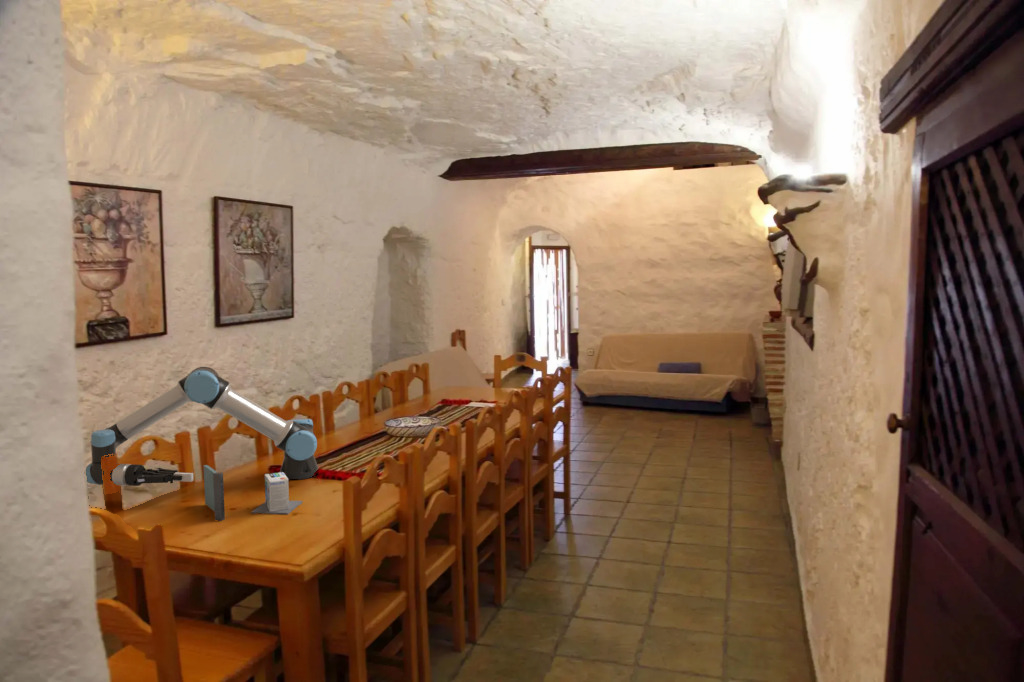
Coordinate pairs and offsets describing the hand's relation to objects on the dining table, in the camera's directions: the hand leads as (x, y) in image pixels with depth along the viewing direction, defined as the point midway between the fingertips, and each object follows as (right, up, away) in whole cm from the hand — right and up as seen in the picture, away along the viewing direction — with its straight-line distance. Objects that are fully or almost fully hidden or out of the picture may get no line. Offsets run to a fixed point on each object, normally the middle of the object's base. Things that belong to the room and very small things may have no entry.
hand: (192, 477), depth 253 cm
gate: (+10, -10, -5) cm, 15 cm away
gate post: (+15, -12, -13) cm, 24 cm away
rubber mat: (+31, -11, -1) cm, 33 cm away
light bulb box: (+31, -10, -1) cm, 32 cm away
